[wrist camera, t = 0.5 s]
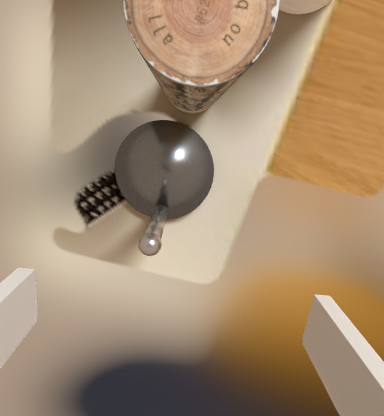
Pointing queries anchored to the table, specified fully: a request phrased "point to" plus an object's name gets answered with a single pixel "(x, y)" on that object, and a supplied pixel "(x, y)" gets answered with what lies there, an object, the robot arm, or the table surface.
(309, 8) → the jar
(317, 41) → the table surface
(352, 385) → the robot arm
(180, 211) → the stand
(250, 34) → the paper tube
